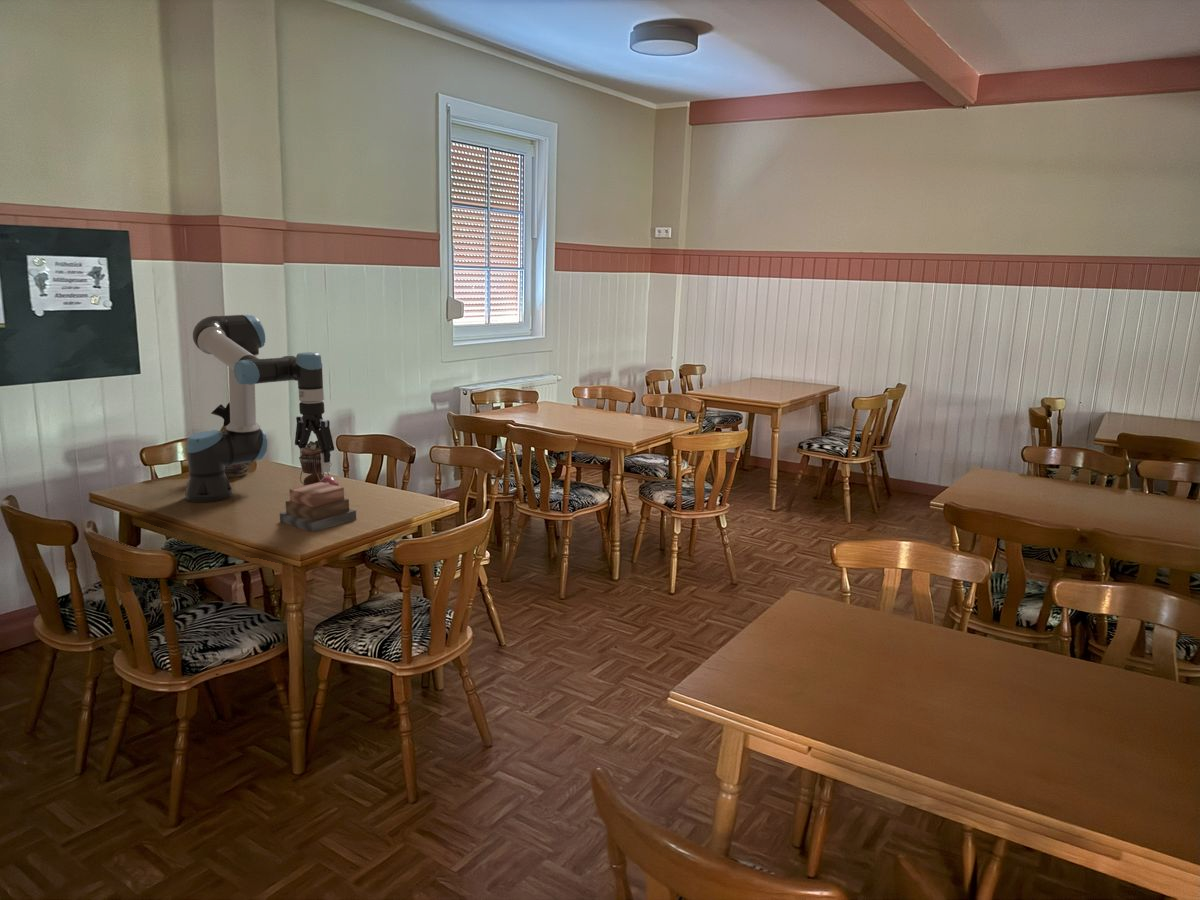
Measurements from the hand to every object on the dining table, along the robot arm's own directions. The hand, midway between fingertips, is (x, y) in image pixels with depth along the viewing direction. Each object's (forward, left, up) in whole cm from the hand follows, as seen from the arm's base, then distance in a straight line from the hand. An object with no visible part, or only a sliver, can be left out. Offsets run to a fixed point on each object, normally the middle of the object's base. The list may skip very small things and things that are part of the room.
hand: (315, 469), depth 267 cm
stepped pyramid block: (0, 0, -17) cm, 17 cm away
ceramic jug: (-76, +18, -18) cm, 80 cm away
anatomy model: (-22, +19, -18) cm, 34 cm away
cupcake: (0, 0, -1) cm, 1 cm away
